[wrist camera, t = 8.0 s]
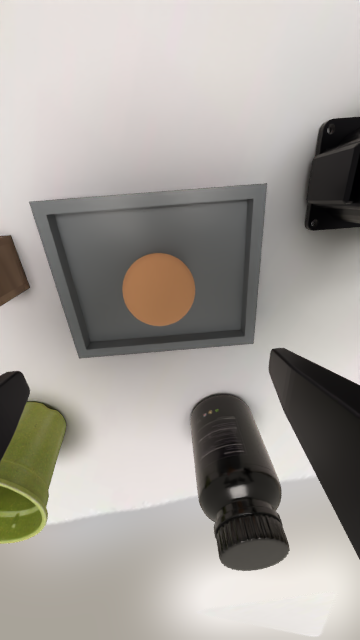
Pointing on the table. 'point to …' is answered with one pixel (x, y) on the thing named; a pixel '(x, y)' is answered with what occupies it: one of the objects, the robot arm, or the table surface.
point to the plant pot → (29, 472)
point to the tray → (147, 238)
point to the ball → (158, 289)
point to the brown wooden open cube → (10, 271)
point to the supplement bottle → (237, 484)
